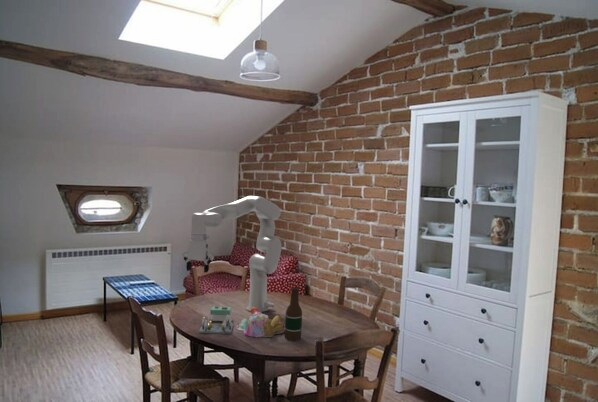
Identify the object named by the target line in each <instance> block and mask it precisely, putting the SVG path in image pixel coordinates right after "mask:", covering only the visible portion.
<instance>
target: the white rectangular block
mask: <svg viewBox="0 0 598 402" xmlns="http://www.w3.org/2000/svg"><path fill="white" fill-rule="evenodd" d="M229 318H230V315H228V321H229ZM224 320H226V315H213V314H212V322H223V321H224Z"/></svg>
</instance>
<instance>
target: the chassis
mask: <svg viewBox="0 0 598 402" xmlns="http://www.w3.org/2000/svg"><path fill="white" fill-rule="evenodd" d="M205 317H206V316H202V318H201V319H202V320H201V321H202V323H201V327H200V328H199V330H198V334H215V335H216V334H219V335H231V334H232V331H233V328H234V323H232V317H230V316H229V320H228V314H227V315H226V320H224V321H222V323H217V322H216V323H215V322H213V320H211V314H210V313H207V319H205Z"/></svg>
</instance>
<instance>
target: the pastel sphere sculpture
mask: <svg viewBox="0 0 598 402" xmlns="http://www.w3.org/2000/svg"><path fill="white" fill-rule="evenodd" d="M249 312H250V314H251V315H250V316H249V317H248V318H249V319H248V318H242V320H241V321H240V323H238V322H237V324H236V330H237V331H239V332H243V334H244V336H249V337H251V338H252V337H253V338H257V339H258V338H272V337H274V336H275V335H278V334H283V333H285V324H284V323H282V317H281V316H280V315H275V316H274V317H273V319H271V318H270V319H269V315H267V314H264V313H263V312H258V308H257V307H252V308H251V310H250V311H249Z"/></svg>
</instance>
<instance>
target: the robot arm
mask: <svg viewBox="0 0 598 402" xmlns="http://www.w3.org/2000/svg"><path fill="white" fill-rule="evenodd" d="M253 212H255V215H256V217H257V218H258V221H259V224H260V226H259V227H260V228H259V233H258V234H257V235H258V236H257V240H256V244H255V245H256V246H255V247H256V249H257V250H258V251H259V252H261V253H254V254H253V255H251V256H250V258H249V261H248V267H249V272H250V273H249V274H250V277H249V278H250V280H249V299H248V302H249V303H248V304H247V306H246V310H247V311H248V312H250V310H251V308H252V307H257V308H258V312H259V313H260V312H261V313H265V312H267V311H269V309H270V308H274V306H275V303H272V302H268V300H267V292H268V290H267V289H268V276H267V274H273V273H274V272H275V271H276V270H277V267H278V264H279V262H280V258H281V253H282V242H281V240H280V238H278V237H276V236H274V235H275V231H276V223H275V221H277V220H278V219H280V217H281V214H282V213H281V208H280V207H279V206H278V205H277V204H275V203H274V202H272V201H270V200H269V199H267V198H265V197H262V196H261V195H260V196H259V195H258V196H257V195H247V196H245V197H242V198H241V199H237V200H235V201H232V202H230V203H226V204H223V205H222V204H221V205H218V206H217V205H216V206H215V207H212V208H209V209H205V210H204V211H202V212H193V213H192V215H191V227H190V229H191V230H190V240H189V242H188V247H187V250H186V251H185V252H183V253H181V255H182V258H183V260H184V261H185V263H186V265H185V266H186V272H188V271H191V270H192V261H200V262H201V261H202V262H203V263H204V265H203V273H204V274H205V273H208V272H209V271H210V270H209V269H210V264H211V263H212V262H213V261H214V258H215V255H213V254H212V253H210V249H209V248H210V246H209V242H208V241H209V240H207V239H209V236H208V235H207V232H208V231H207V228H219V227H221V225H222V224H223V222H224V220H228V219H229V220H230V219H237V218H240V217H242V216H244V215H246V214H249V213H253ZM262 253H263V254H262ZM264 253H265V254H264Z"/></svg>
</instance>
